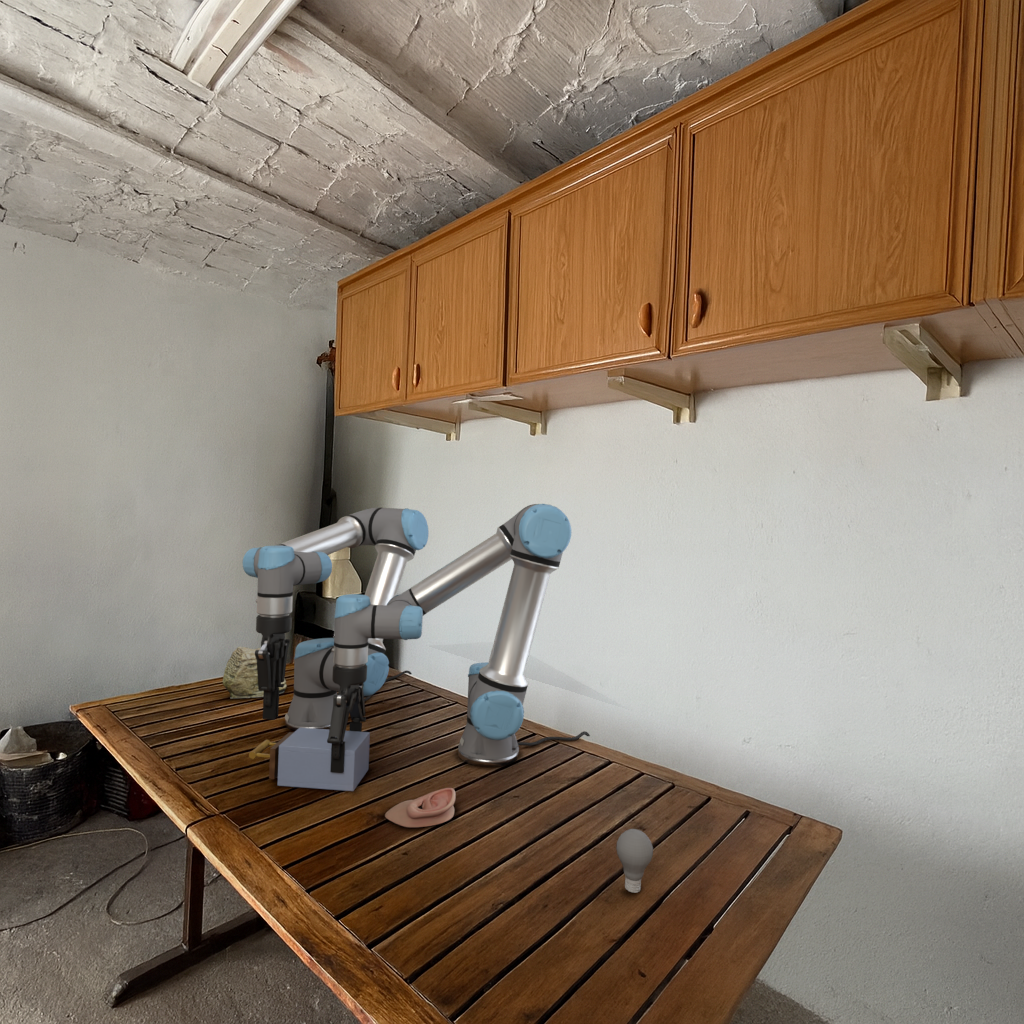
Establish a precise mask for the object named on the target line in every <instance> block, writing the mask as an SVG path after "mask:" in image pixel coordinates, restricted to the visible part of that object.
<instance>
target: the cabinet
mask: <svg viewBox="0 0 1024 1024" xmlns="http://www.w3.org/2000/svg"><path fill="white" fill-rule="evenodd" d="M293 732H294V733H293V734H292V735H291V736H289V737H288V738H287V739H286V740H285V741H284V742H283V743H281V744H280V745H279V757H278V776H277V786H279V787H291V788H292V787H293V788H304V789H305V788H306V789H320V790H331V791H333V790H334V791H344V792H346V791H347V792H354V791H355V789H356V788H357V787H358V786H359V784H360V782H361V781H362V779H363V778H364V777H365V776H366V773H367V772H368V771H369V769H370V768H369V766H370V765H369V764H370V740H371V739H370V738H371V733H370V731H362V732H358V731H349V730H346V731H345V736H344V741H343V742H345V755H344V772H343V773H335V772H330V770H331V746H332V743H327V739H328V736H329V729H314V728H298V729H297V730H296V731H295V730H294V731H293Z"/></svg>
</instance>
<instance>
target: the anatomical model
mask: <svg viewBox="0 0 1024 1024" xmlns="http://www.w3.org/2000/svg"><path fill="white" fill-rule="evenodd" d="M456 797H457V795H456V791H455V788H452V787H445V788H441V789H437V790H435V791H431V792H429V793H427V794H424V795H422V796H419V797H417V798H414V799H408V800H405V801H401V802H399V803H398V804H396V805H394V806H392V807H391V808H390V809H388V810H387V811H386V812H385V814H384V817H385V818H386V819H387V820H388V821H390V822H392V823H394V824H395V825H397V826H401V827H404V828H423V827H425V828H426V827H431V826H436V825H441V824H443V823H445V822H448V821H450V820H452V818H453V817H454V815H455V807H454V805H455V803H456V799H457V798H456Z"/></svg>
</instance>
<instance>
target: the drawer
mask: <svg viewBox="0 0 1024 1024" xmlns="http://www.w3.org/2000/svg"><path fill="white" fill-rule="evenodd" d="M294 732H295V731H293V732H291V731H289V732H287V734H285V735H284V736H283V737H282V738H281V739H279V740H278V741H277V742H272V741H270V739H265V740H264V741H262V742H261V743H260V744H259V745H258V746H256V747H255V748H254V749H253V750H251V751H250V752H249V754H248V758H249V759H251V760H254V759H255V758H269V769H268V770H269V771H268V779H269V780H275V779H276V778H278V757H279V745H280V744H281V743H283V742H284V741H285V740H286V739H287V738H288V737H289V736H291V735H292V734H293V733H294ZM269 747H270V749H269V753H263V752H264V751H265V750H266V749H267V748H269Z"/></svg>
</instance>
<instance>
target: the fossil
mask: <svg viewBox="0 0 1024 1024" xmlns="http://www.w3.org/2000/svg"><path fill="white" fill-rule="evenodd" d="M260 649H261V647H258V648H251V647H247V646H246V647H245V646H238V647H237V648H236V649H235V650H233V651H232V653H231V656H230V657H229V659H228V660H227V663H226V666H225V668H224V671H223V675H222V676H223V677H222V685H223V687H224V688H225V690H226V691H228V693H229V698H230V699H250V698H263V694H264V691H259V689H258V674H257V660H256V657H255V651H256V650H260ZM281 684H284V687H283V688H281V687H279V695H281V694H284V693H285V691H286V689H287V687H288V686H287V680H286V678H284V682H281Z"/></svg>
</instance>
